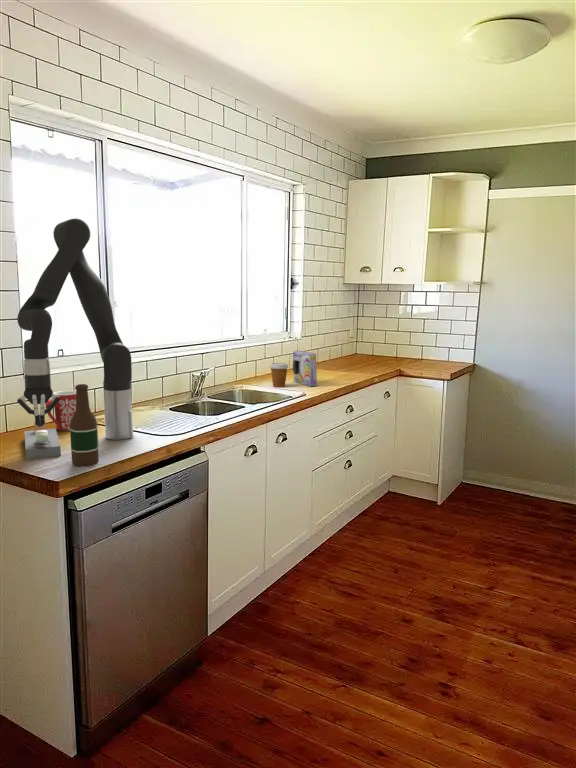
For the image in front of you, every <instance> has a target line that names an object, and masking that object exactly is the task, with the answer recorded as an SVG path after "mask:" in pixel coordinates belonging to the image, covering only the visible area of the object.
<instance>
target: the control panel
mask: <svg viewBox="0 0 576 768" xmlns="http://www.w3.org/2000/svg"><path fill="white" fill-rule="evenodd" d="M46 430H47V431H48V438H49V441H47V442H36V433H35V429H34V430H33V429H31V430H24V445H25V446H24V447H25V460H31V459H30V458H33V459H41V458H40V457H43V458H49V457H51V456H52V457H61V456H62V455H61V454H62V453H61V452H62V450H61V449H62V448H61V443H60V439H59V437H58V432H57V428H46ZM60 455H61V456H60Z"/></svg>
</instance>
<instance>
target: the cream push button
mask: <svg viewBox="0 0 576 768" xmlns="http://www.w3.org/2000/svg"><path fill="white" fill-rule="evenodd" d="M35 433H36V434H40V433H47V434H48V431H47V430H38V431H36V432H35Z"/></svg>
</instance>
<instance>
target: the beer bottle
mask: <svg viewBox="0 0 576 768" xmlns="http://www.w3.org/2000/svg"><path fill="white" fill-rule="evenodd" d="M88 389H89V386H88V384H87V383H86V384H85V383H81V384H80V383H79V384H76V385H75V387H74V390H76V411H75V414H74V415H73V417H72V419H71V422H70V430H69V432H70V433H69V434H70V450H71V451H70V453H71V462H72V463H71V464H72V465H73V466H75V467H77V466H78V468H82V467H81V466H88V467H91V465H92V466H95V464H96V465H97V464H98V463H99V455H100V453H99V434H98V433H99V432H98V431H99V430H98V422H97V419H96V416H95V414H94V413H93V411H91V407H90V401H89V400H90V399H89V392H88V391H89V390H88Z"/></svg>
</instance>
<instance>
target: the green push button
mask: <svg viewBox="0 0 576 768" xmlns="http://www.w3.org/2000/svg"><path fill="white" fill-rule="evenodd" d="M47 441H49V438H48V434H47V433H40V434H36V442H47Z"/></svg>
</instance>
